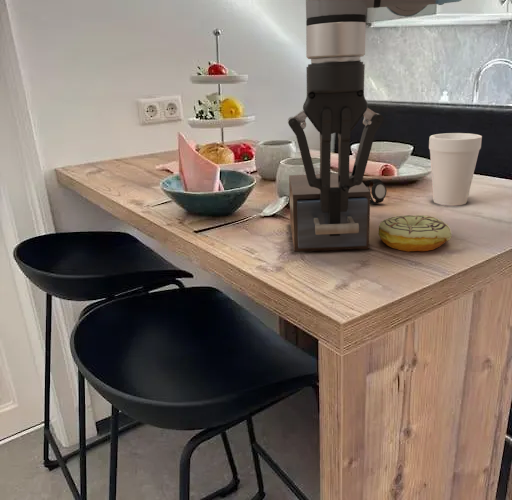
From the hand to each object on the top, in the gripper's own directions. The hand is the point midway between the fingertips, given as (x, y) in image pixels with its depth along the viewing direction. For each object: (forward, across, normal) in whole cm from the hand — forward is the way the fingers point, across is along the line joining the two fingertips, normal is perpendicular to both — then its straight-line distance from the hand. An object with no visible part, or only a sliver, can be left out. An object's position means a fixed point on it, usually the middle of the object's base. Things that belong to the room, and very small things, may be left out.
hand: (333, 232), depth 73 cm
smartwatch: (+4, -12, -31) cm, 33 cm away
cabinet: (+4, 0, -11) cm, 12 cm away
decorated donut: (+4, -13, -6) cm, 15 cm away
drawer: (+3, 0, -7) cm, 7 cm away
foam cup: (+4, -27, -30) cm, 40 cm away
